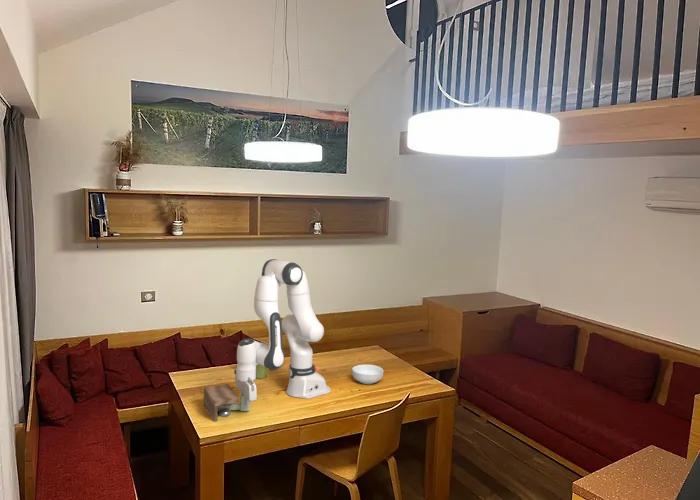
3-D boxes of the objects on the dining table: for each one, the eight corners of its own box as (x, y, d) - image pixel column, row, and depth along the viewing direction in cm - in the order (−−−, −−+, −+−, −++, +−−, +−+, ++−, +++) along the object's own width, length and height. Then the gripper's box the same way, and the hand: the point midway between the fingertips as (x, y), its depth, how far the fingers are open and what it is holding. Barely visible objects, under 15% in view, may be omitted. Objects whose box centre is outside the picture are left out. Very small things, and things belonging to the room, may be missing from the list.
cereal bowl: (387, 379, 302) (388, 367, 302) (375, 389, 287) (376, 376, 287) (359, 374, 309) (359, 362, 309) (346, 383, 294) (346, 370, 294)
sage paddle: (248, 406, 258) (249, 392, 257) (249, 410, 255) (250, 396, 254) (213, 408, 254) (214, 393, 253) (213, 412, 250) (214, 397, 249)
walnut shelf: (227, 402, 265) (227, 384, 263) (239, 416, 249) (239, 397, 248) (203, 406, 259) (203, 387, 258) (214, 421, 243) (214, 402, 242)
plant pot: (248, 376, 299) (248, 360, 298) (263, 372, 305) (263, 357, 304) (257, 381, 292) (257, 365, 291) (272, 377, 298) (272, 362, 297)
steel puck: (228, 411, 254) (228, 407, 254) (231, 415, 250) (231, 411, 249) (217, 413, 252) (217, 409, 251) (220, 417, 247) (220, 413, 247)
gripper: (260, 381, 246) (260, 410, 248) (245, 366, 264) (245, 394, 266) (246, 383, 243) (246, 413, 245) (233, 368, 261) (232, 396, 263)
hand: (245, 403), depth 256 cm, fingers closed on sage paddle, 4 cm apart
